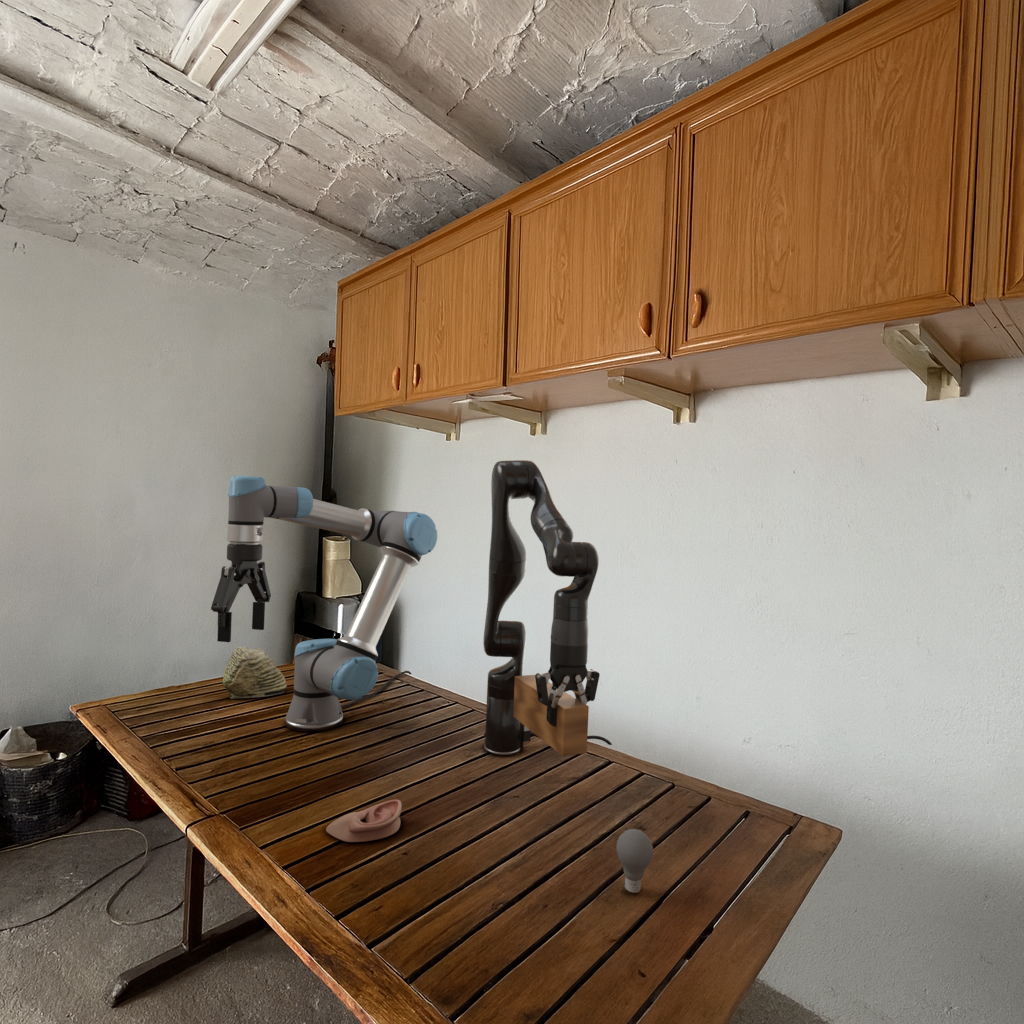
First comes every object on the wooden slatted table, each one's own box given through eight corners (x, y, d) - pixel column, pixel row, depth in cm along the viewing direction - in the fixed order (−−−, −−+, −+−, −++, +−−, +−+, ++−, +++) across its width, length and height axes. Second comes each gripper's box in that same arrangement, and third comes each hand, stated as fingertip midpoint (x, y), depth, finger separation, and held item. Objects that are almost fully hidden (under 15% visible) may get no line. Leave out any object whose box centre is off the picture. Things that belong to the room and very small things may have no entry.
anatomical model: (318, 816, 117) (346, 789, 129) (317, 837, 118) (346, 808, 129) (385, 827, 115) (408, 798, 126) (384, 848, 115) (407, 818, 126)
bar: (513, 716, 145) (514, 676, 145) (534, 714, 147) (536, 674, 147) (562, 756, 123) (564, 708, 123) (586, 753, 126) (588, 706, 125)
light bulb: (610, 879, 108) (613, 822, 108) (644, 879, 109) (647, 822, 109) (619, 902, 102) (622, 840, 102) (655, 901, 103) (658, 840, 103)
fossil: (218, 695, 195) (220, 647, 195) (278, 685, 208) (279, 640, 207) (228, 703, 189) (230, 653, 188) (289, 692, 201) (290, 645, 201)
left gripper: (227, 547, 132) (224, 648, 133) (287, 540, 157) (284, 626, 157) (195, 545, 134) (191, 645, 134) (259, 539, 158) (256, 623, 159)
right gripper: (546, 646, 122) (542, 733, 122) (609, 642, 128) (605, 726, 128) (529, 638, 129) (525, 720, 129) (590, 634, 134) (586, 714, 135)
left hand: (241, 635), depth 146 cm, fingers open, 13 cm apart
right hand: (565, 722), depth 128 cm, fingers closed on bar, 5 cm apart
